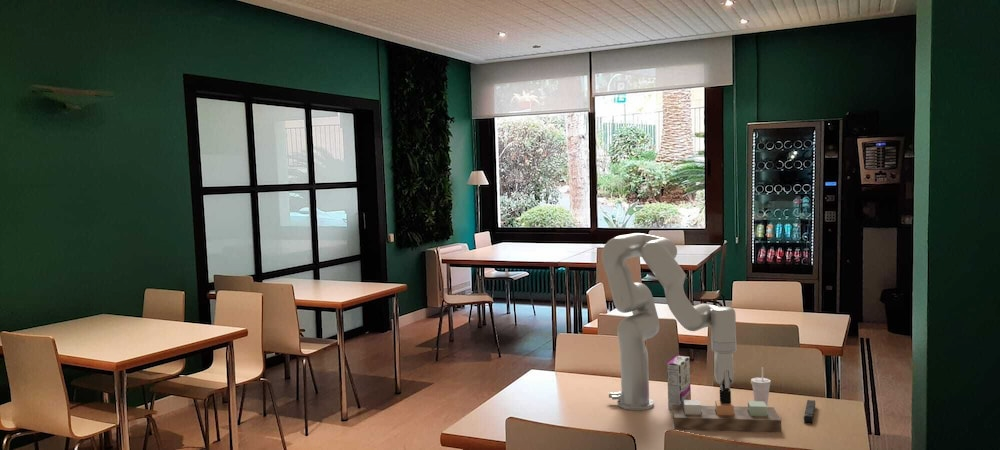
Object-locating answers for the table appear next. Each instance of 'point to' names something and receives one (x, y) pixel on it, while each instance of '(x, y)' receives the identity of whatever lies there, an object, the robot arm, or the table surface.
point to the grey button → (692, 407)
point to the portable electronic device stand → (809, 412)
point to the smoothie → (761, 388)
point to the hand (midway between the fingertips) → (725, 402)
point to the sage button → (757, 408)
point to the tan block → (724, 408)
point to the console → (726, 420)
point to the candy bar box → (678, 381)
